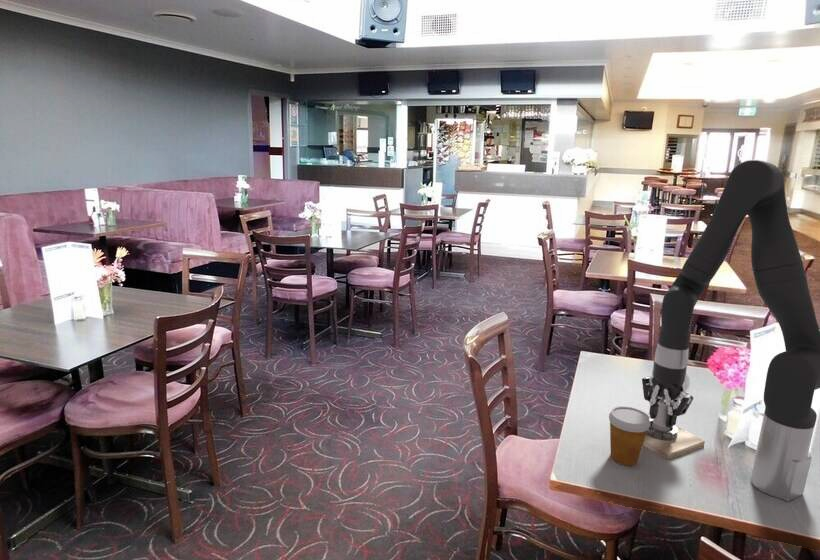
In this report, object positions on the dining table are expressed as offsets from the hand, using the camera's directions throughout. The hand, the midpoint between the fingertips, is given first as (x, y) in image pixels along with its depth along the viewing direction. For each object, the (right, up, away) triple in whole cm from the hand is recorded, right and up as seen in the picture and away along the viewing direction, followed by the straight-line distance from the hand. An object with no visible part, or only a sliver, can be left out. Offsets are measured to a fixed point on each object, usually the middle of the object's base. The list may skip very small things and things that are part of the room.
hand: (661, 421), depth 141 cm
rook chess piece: (0, -2, +1) cm, 2 cm away
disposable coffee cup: (-13, -7, -9) cm, 17 cm away
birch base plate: (0, -4, +1) cm, 5 cm away
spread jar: (+17, +3, +32) cm, 36 cm away
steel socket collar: (0, -3, +1) cm, 3 cm away
